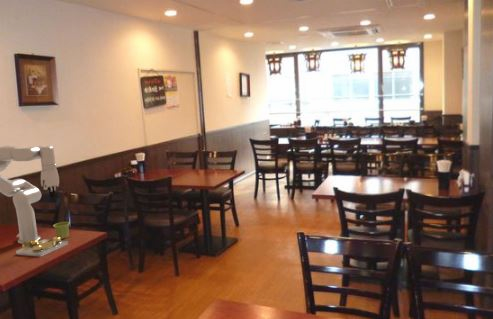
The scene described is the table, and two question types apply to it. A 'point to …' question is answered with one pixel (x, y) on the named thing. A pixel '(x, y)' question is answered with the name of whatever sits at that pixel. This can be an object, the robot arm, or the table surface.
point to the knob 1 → (42, 245)
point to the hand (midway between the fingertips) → (52, 197)
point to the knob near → (29, 243)
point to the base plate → (44, 251)
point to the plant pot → (62, 229)
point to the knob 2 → (55, 240)
